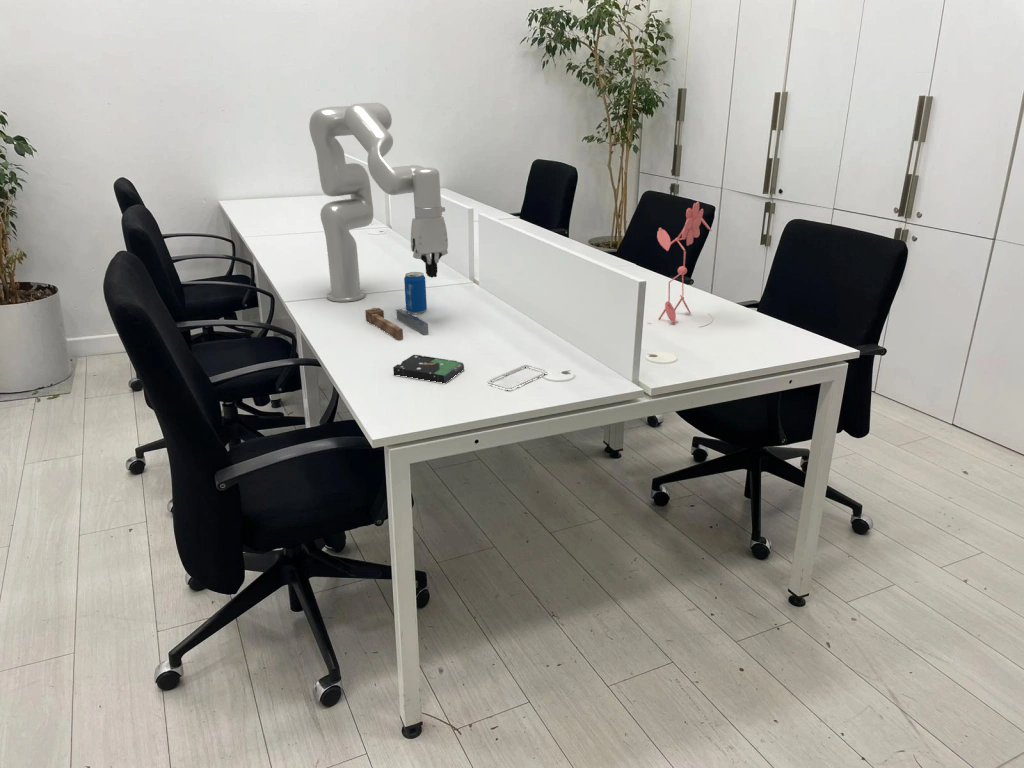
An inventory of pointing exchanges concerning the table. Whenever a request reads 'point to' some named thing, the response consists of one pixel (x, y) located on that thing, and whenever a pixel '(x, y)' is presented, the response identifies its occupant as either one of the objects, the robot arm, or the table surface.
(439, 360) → the disk drive
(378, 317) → the brown bar with block
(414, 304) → the beverage can
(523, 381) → the phone case
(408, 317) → the long gray metal bar
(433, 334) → the table surface
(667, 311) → the figurine
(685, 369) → the table surface
